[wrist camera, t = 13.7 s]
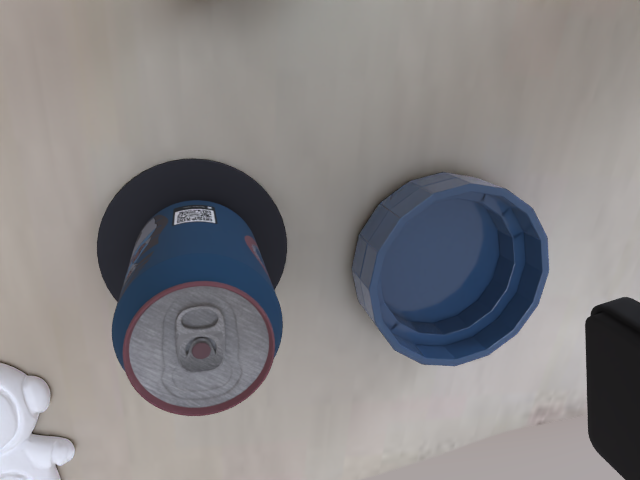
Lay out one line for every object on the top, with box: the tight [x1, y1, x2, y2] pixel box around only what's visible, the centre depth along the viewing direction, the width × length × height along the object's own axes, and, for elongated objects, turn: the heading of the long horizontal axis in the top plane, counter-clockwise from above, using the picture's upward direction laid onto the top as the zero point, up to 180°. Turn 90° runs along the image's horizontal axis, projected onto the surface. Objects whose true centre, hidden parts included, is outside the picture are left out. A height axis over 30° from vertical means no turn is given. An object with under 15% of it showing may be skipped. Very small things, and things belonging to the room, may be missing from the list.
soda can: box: [112, 200, 283, 416], centre depth 26 cm, size 7×7×12 cm
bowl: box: [352, 172, 549, 366], centre depth 34 cm, size 12×12×4 cm
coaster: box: [97, 159, 287, 302], centre depth 31 cm, size 11×11×1 cm
